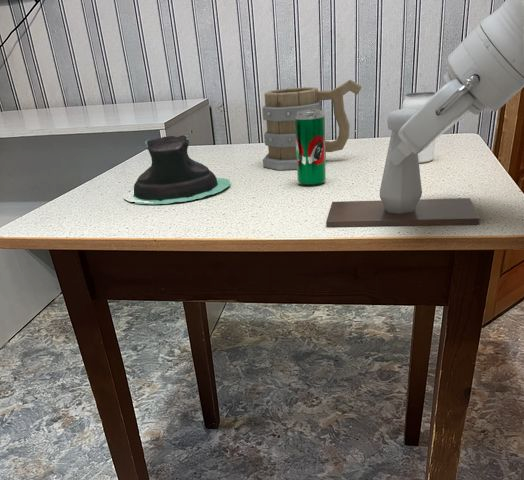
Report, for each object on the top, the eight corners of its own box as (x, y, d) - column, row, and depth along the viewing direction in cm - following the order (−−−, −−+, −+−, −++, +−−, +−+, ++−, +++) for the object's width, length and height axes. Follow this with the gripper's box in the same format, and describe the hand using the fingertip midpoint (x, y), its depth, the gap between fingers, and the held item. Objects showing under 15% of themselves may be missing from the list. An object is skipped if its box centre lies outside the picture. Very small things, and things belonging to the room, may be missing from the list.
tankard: (260, 171, 109) (253, 89, 101) (270, 158, 120) (265, 84, 112) (359, 166, 105) (360, 81, 97) (361, 154, 116) (362, 76, 108)
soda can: (329, 180, 98) (328, 108, 92) (320, 187, 94) (318, 112, 88) (303, 179, 100) (300, 109, 94) (293, 186, 96) (289, 113, 90)
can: (404, 156, 110) (407, 92, 104) (436, 157, 107) (441, 90, 101) (396, 163, 105) (399, 96, 99) (430, 164, 102) (435, 95, 96)
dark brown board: (469, 203, 79) (469, 197, 78) (479, 224, 70) (480, 218, 70) (332, 206, 83) (332, 201, 82) (326, 227, 74) (326, 221, 74)
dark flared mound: (113, 183, 106) (209, 170, 112) (137, 250, 97) (240, 232, 103) (105, 113, 93) (214, 103, 100) (132, 183, 85) (249, 167, 91)
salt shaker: (370, 211, 76) (372, 112, 70) (395, 201, 79) (399, 106, 73) (404, 217, 72) (409, 113, 66) (429, 207, 75) (436, 107, 69)
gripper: (489, 104, 56) (392, 194, 65) (510, 84, 71) (429, 159, 80) (449, 58, 56) (357, 155, 65) (479, 48, 71) (401, 127, 80)
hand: (397, 157), depth 73 cm, fingers closed on salt shaker, 3 cm apart
